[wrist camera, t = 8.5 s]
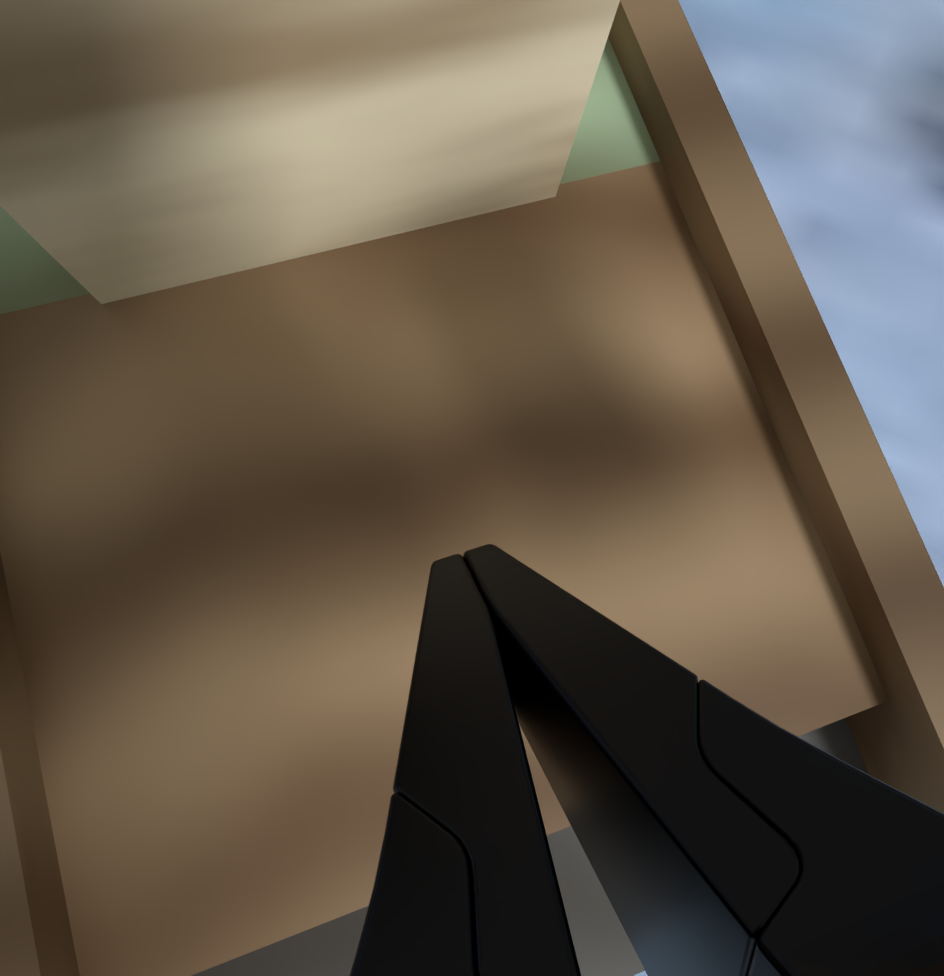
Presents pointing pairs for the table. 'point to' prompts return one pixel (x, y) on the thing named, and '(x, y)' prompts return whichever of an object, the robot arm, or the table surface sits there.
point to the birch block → (277, 124)
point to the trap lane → (420, 531)
